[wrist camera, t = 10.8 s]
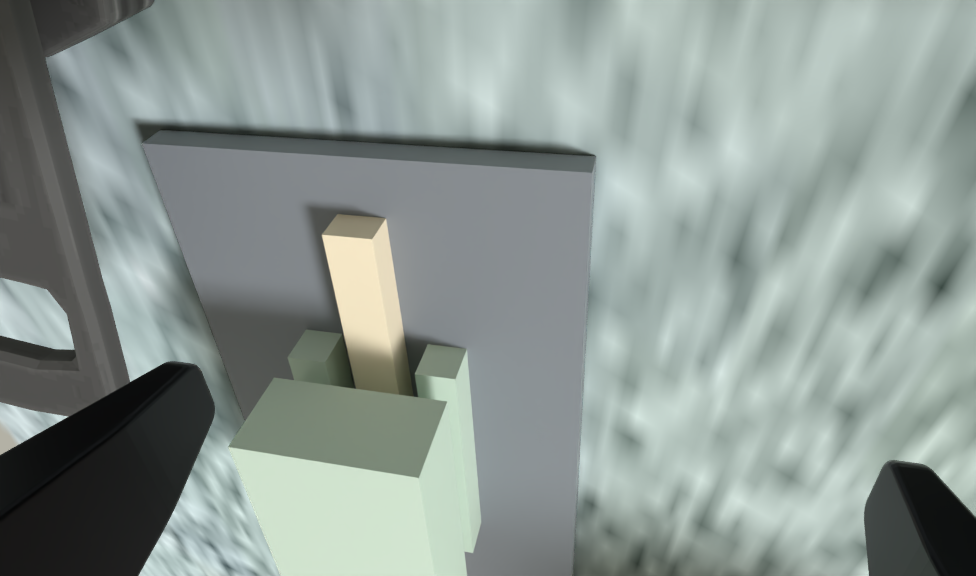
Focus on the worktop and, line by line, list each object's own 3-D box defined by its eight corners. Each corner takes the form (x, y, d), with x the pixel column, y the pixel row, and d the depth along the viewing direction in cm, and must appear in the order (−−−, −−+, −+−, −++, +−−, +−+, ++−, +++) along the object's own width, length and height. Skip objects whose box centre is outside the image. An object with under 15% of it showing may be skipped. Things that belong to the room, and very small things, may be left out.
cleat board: (596, 156, 20) (587, 194, 18) (571, 602, 34) (565, 647, 32) (160, 130, 22) (117, 160, 21) (308, 552, 37) (290, 590, 35)
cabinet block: (466, 349, 24) (418, 477, 20) (482, 532, 30) (448, 659, 26) (306, 329, 25) (228, 446, 21) (353, 510, 32) (302, 627, 27)
